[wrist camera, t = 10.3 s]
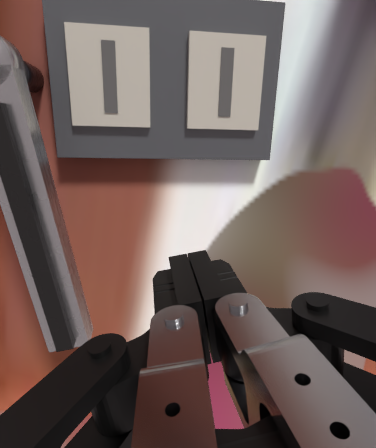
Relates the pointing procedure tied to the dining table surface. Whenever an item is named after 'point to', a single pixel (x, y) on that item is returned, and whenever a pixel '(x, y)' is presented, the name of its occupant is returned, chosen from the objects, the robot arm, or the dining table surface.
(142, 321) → the dining table surface
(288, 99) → the dining table surface
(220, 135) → the label panel
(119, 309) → the dining table surface
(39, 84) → the pivot post
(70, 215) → the dining table surface
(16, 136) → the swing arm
